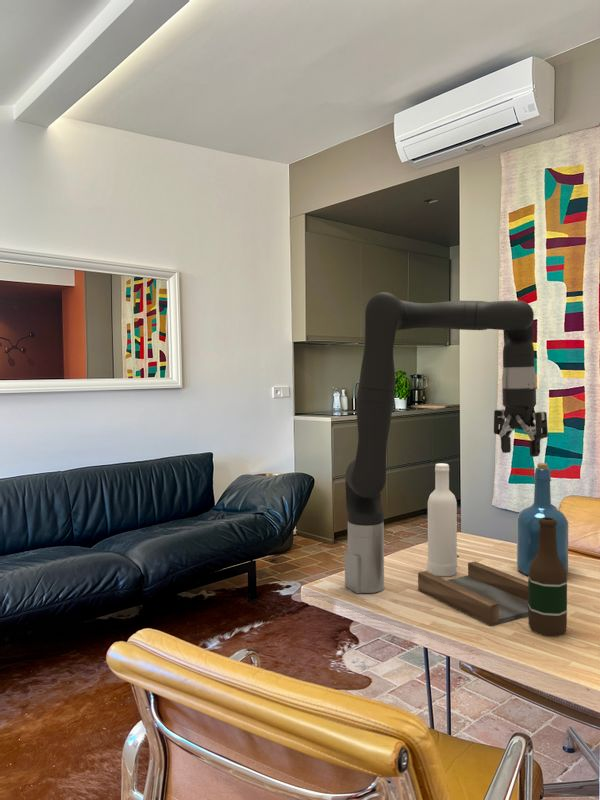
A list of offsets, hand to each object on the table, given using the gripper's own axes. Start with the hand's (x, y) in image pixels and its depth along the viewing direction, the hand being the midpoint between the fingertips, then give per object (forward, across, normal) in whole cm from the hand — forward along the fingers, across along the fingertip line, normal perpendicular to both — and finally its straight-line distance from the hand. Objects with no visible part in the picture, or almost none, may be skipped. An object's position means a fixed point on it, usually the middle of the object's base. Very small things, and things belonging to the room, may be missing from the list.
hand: (520, 454), depth 145 cm
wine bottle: (+36, -13, +21) cm, 44 cm away
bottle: (+35, -26, -2) cm, 44 cm away
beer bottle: (+36, +14, -8) cm, 39 cm away
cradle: (+35, -6, -8) cm, 37 cm away
